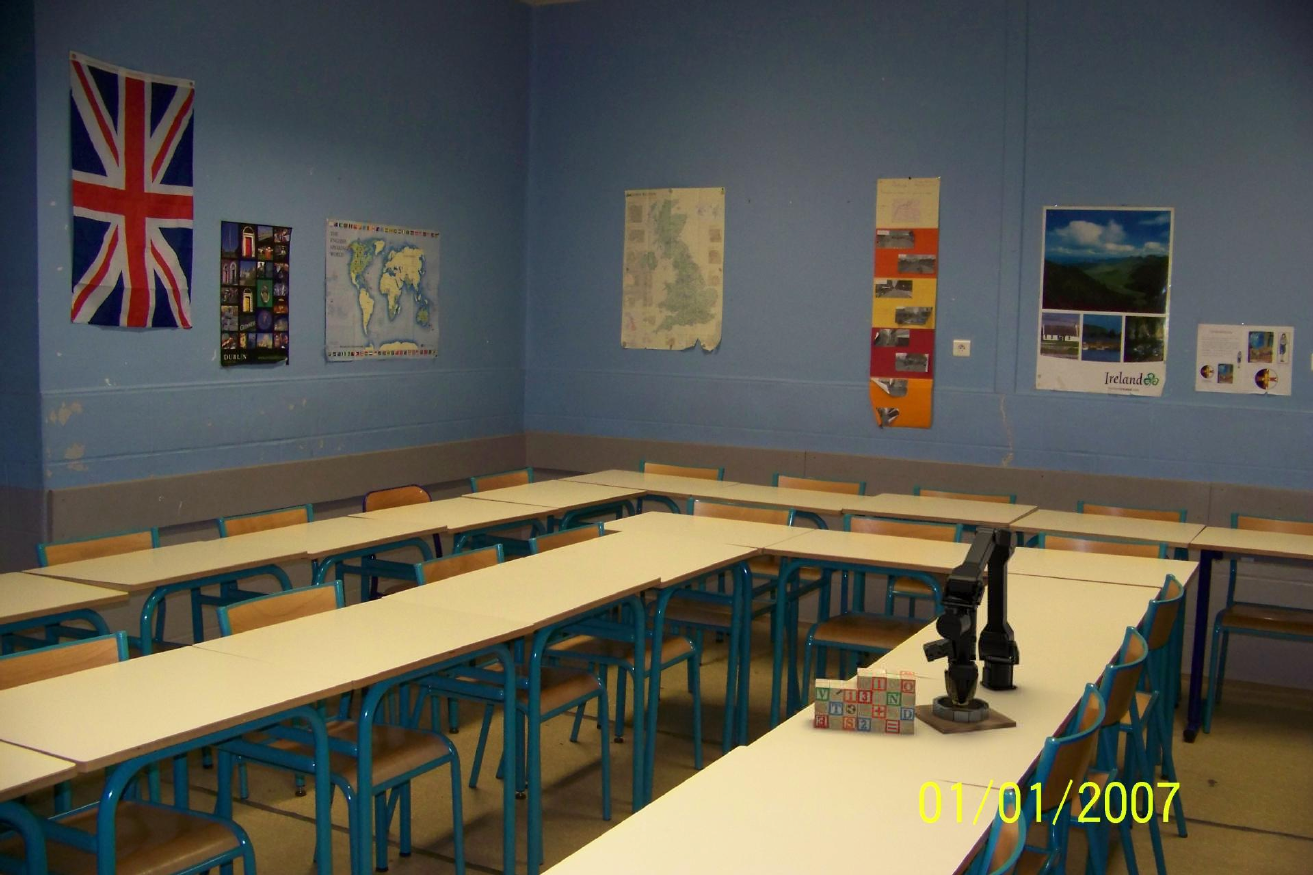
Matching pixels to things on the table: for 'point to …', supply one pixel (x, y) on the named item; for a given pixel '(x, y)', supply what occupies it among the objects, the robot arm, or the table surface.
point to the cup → (952, 690)
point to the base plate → (946, 726)
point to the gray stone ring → (961, 716)
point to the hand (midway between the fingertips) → (960, 698)
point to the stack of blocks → (867, 702)
